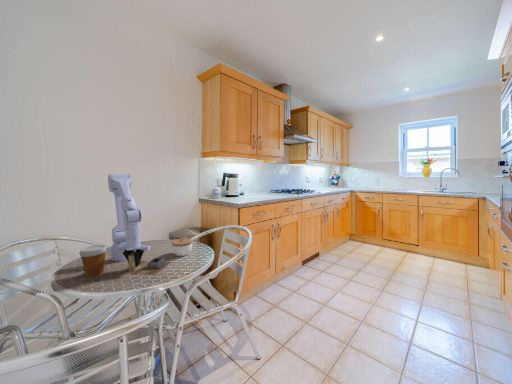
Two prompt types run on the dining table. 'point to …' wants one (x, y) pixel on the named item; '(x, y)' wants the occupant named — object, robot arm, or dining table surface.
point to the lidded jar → (182, 246)
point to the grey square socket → (155, 263)
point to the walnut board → (143, 269)
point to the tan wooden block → (132, 263)
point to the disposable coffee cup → (93, 259)
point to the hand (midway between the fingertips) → (134, 265)
